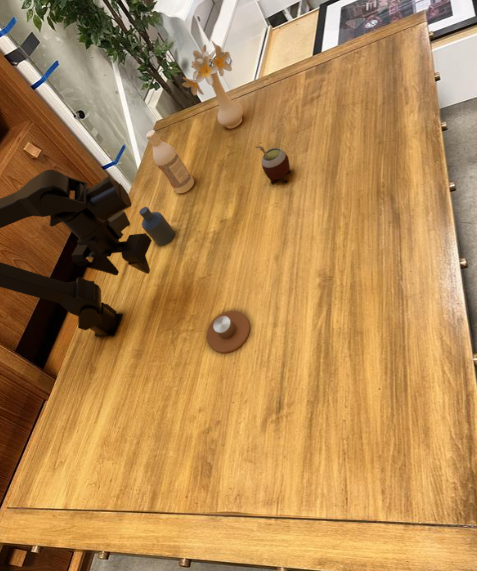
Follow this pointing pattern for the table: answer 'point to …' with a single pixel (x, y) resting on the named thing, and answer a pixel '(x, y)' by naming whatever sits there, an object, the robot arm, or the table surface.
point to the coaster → (236, 339)
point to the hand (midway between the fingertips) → (132, 272)
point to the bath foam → (170, 164)
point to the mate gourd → (275, 164)
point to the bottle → (156, 227)
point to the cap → (224, 327)
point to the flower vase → (215, 83)
